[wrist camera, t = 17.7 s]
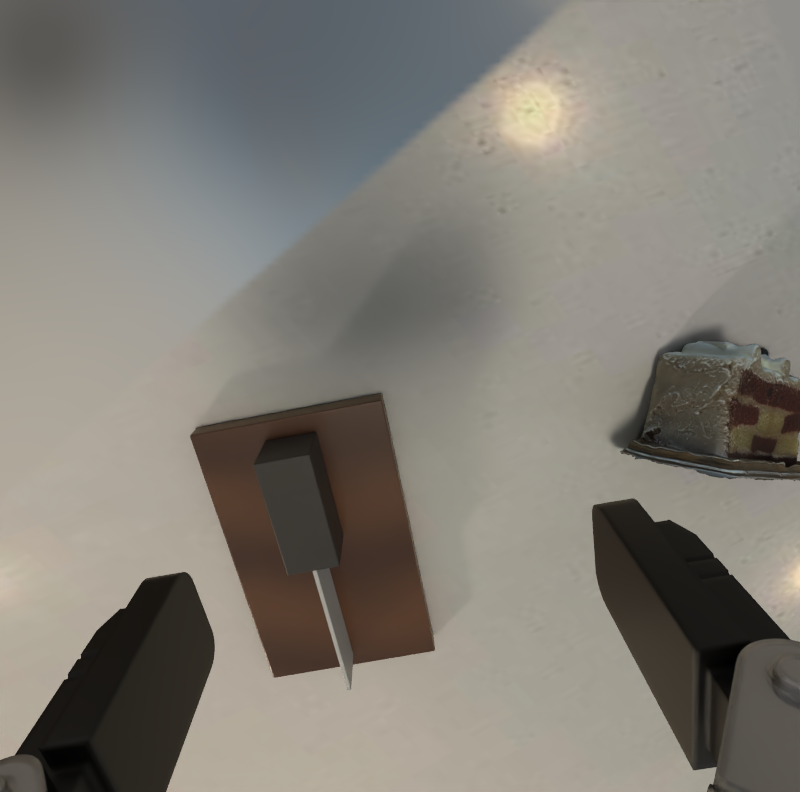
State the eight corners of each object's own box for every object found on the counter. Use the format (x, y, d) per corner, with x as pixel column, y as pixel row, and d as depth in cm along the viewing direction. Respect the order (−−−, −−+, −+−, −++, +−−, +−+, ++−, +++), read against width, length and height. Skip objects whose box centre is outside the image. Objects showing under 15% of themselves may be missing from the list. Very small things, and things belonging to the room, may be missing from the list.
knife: (264, 440, 31) (252, 464, 28) (316, 431, 31) (309, 454, 28) (329, 658, 36) (324, 696, 33) (374, 650, 36) (373, 688, 33)
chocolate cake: (847, 363, 32) (846, 332, 23) (826, 482, 32) (816, 500, 23) (671, 349, 38) (613, 321, 29) (655, 450, 38) (592, 453, 29)
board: (196, 427, 32) (189, 435, 31) (382, 392, 31) (381, 399, 30) (276, 664, 38) (273, 678, 37) (433, 637, 37) (435, 651, 36)
